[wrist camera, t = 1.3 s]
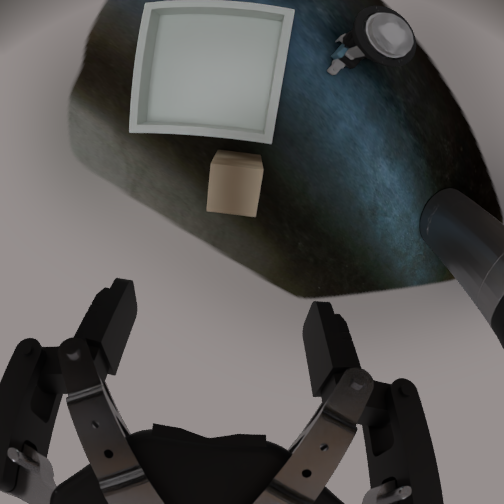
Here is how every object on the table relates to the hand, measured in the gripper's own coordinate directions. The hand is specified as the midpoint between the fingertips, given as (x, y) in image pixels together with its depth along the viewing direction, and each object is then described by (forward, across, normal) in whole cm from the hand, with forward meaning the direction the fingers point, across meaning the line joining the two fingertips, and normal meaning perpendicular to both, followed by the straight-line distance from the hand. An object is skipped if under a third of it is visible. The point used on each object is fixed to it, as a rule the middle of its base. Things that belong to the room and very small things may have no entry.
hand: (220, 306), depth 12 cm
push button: (+20, -9, -16) cm, 27 cm away
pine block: (+20, 0, 0) cm, 20 cm away
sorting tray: (+20, +4, -11) cm, 23 cm away
